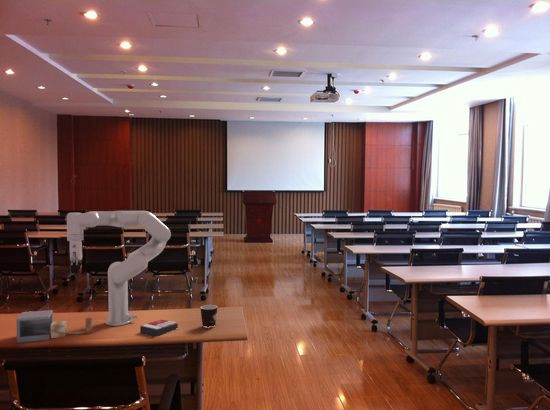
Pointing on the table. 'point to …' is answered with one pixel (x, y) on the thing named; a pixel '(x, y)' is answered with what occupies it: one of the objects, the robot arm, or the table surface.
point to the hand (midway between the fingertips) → (75, 271)
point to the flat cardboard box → (158, 327)
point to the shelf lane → (34, 326)
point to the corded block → (61, 329)
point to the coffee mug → (208, 315)
